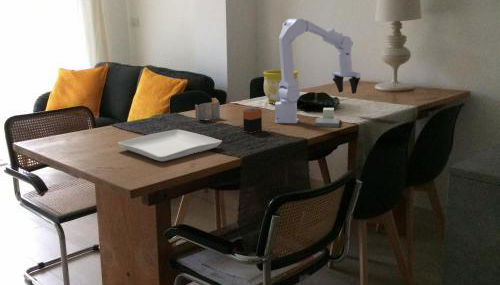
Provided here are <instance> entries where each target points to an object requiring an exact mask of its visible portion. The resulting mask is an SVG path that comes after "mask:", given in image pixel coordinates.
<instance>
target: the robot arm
mask: <svg viewBox="0 0 500 285" xmlns="http://www.w3.org/2000/svg"><path fill="white" fill-rule="evenodd" d="M335 30H336V29H334V28H326V29H324V28H322V27H320V26H319V25H317V24H315V23H313V22H312V21H309V20H307V19H303V18H288V19H286V20H285V22H283V23H282V29H281V31H280V34H279V37H278V45H279V46H278V47H279V48H278V49H279V62H280V70H281V78H282V80H281V81H280V83H279V89H278V96H279V97H280V102H276V103H275V104H274V124H297V123H298V121H299V118H298V117H297V116H298V114H297V112H298V110H297V109H298V105H297V104H298V100H299V99H300V95H301V94H300V90H299V88H297V83H296V82H295V80H294V55H293V42H294V40H296V39H297V37H299V36H301V35H303V34H305V32H307V33H308V32H309V33H312V34H314V35H316V36H319V37H321V38H322V40H323V41H324V42H325V43H327V44H330V45H332V46H334V47H335V48H336V49H337V60H338V61H337V62H338V70H339V71H333V72H332V73H331V74H332V75H331V76H332V77H333V78H332V81H333V82H334V84H335V85H336V88H337V90H338V93H343V92H344V78H348V82H349V83H350V84H349V85H350V89H351V94H352V95H353V94H356V93H357V89H358V85H359V82H360V81H361V72H355V71H353V65H352V47H353V44H354V41H353V40H352V38H351V37H349V36H347V35H346V36H345V35H343V33H342V32H340V33H339V32H337V31H335Z"/></svg>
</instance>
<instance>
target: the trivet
mask: <svg viewBox="0 0 500 285" xmlns="http://www.w3.org/2000/svg"><path fill="white" fill-rule="evenodd" d="M340 121H341V120H340V118H335V117H334V118H323V117H316V118H315V121H314V127H322V128H339V127H340Z"/></svg>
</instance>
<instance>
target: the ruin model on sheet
mask: <svg viewBox="0 0 500 285" xmlns="http://www.w3.org/2000/svg"><path fill="white" fill-rule="evenodd" d="M220 103H221V102H219V100H218V99H217V98H216V97H214V98H213V97H212V98H211V102H204V103H200V104H199V105H198V104H194V110H195V113H194V114H195V121H196V120H205V119H212V120H215V119H214V118H218V119H221V112H220V111H221V110H220V109H221V108H220V106H221V105H220Z"/></svg>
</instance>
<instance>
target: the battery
mask: <svg viewBox="0 0 500 285" xmlns="http://www.w3.org/2000/svg"><path fill="white" fill-rule="evenodd" d="M262 110H263V109H261V108H258V106H253V107H247V108H246V109H244V110H243V111H242V114H243V118H242V119H243V122H242V123H243V132H244V131H247V132H254V131H258V130H262V129H263V124H262V123H263V121H262V120H263V119H262V118H263V117H262V116H263V113H262ZM262 131H263V130H262Z"/></svg>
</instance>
